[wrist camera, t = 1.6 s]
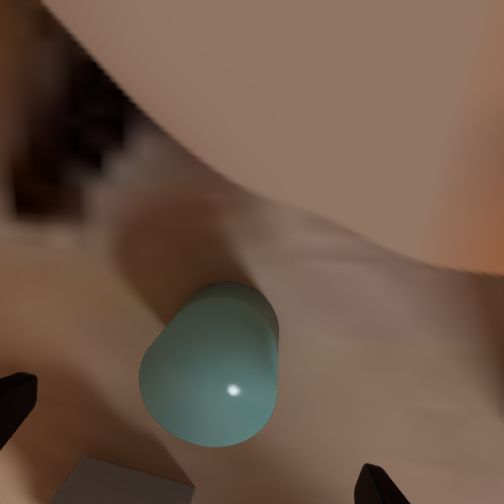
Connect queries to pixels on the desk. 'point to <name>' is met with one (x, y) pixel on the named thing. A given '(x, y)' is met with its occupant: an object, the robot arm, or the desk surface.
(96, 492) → the base block
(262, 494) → the desk surface
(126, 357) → the desk surface
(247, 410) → the teal cylinder
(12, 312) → the desk surface
